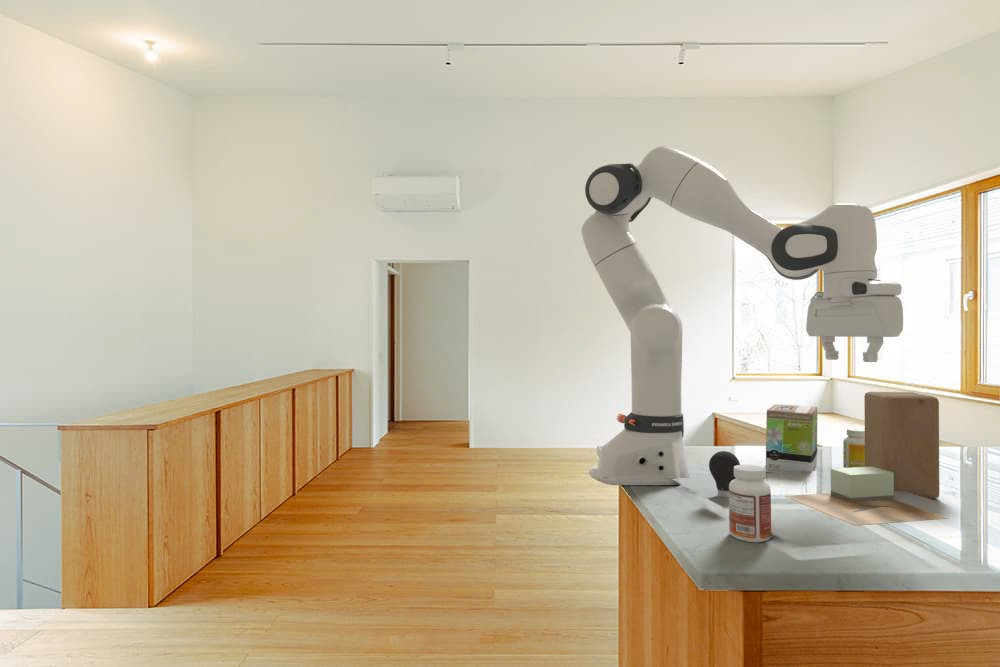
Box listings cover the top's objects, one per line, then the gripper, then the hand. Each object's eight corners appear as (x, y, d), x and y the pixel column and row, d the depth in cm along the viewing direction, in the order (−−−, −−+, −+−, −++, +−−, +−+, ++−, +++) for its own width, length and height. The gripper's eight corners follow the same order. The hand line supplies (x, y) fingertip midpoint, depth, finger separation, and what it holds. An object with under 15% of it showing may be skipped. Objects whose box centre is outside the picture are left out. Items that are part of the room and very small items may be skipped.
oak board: (855, 534, 93) (854, 525, 93) (785, 503, 110) (785, 495, 110) (949, 527, 96) (949, 518, 96) (867, 498, 113) (867, 490, 113)
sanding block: (850, 502, 105) (850, 474, 105) (830, 494, 110) (830, 468, 110) (893, 499, 107) (893, 472, 107) (872, 492, 112) (872, 466, 112)
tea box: (813, 478, 128) (813, 412, 128) (764, 473, 134) (764, 409, 134) (818, 465, 141) (817, 405, 141) (773, 460, 146) (772, 402, 146)
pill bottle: (760, 529, 95) (760, 463, 95) (778, 543, 89) (778, 472, 89) (723, 530, 95) (722, 463, 95) (738, 543, 89) (738, 472, 89)
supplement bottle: (838, 468, 138) (837, 428, 138) (856, 466, 139) (856, 427, 139) (856, 473, 133) (856, 431, 133) (876, 472, 134) (875, 430, 134)
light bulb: (737, 509, 106) (737, 455, 106) (706, 505, 109) (705, 452, 109) (743, 502, 111) (742, 450, 111) (712, 497, 114) (712, 447, 114)
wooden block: (941, 500, 111) (941, 397, 111) (884, 498, 113) (883, 396, 113) (915, 487, 121) (915, 391, 121) (863, 484, 123) (862, 391, 123)
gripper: (797, 292, 120) (798, 358, 120) (878, 284, 100) (879, 363, 100) (824, 292, 121) (825, 358, 121) (910, 284, 101) (910, 363, 101)
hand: (850, 360), depth 110 cm, fingers open, 8 cm apart
